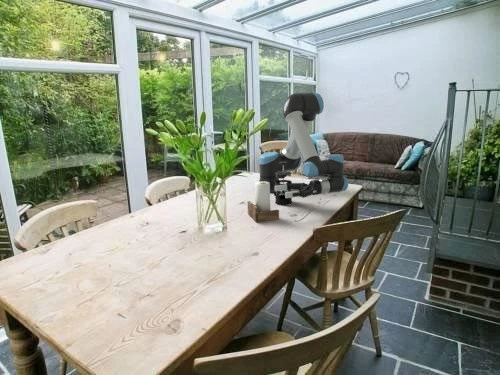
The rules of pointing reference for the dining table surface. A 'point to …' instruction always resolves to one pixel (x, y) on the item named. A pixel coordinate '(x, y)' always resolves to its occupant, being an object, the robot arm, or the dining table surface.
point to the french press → (281, 195)
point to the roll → (262, 196)
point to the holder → (261, 214)
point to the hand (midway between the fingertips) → (280, 191)
